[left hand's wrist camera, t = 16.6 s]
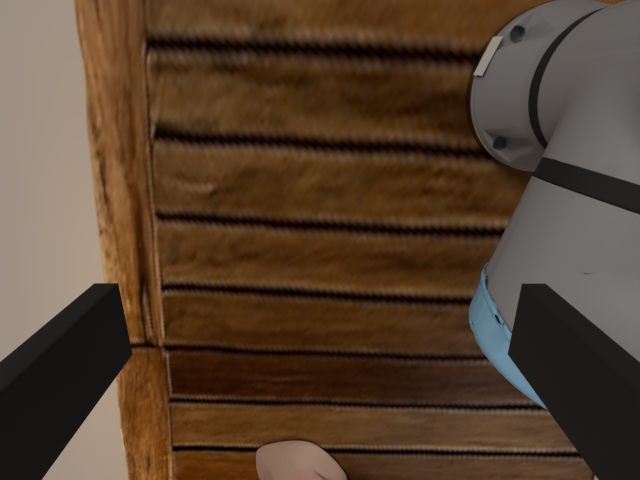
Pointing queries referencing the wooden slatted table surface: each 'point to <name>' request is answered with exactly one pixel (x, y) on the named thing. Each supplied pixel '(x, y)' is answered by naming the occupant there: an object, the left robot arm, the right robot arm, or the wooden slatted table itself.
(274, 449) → the anatomical model
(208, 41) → the wooden slatted table surface
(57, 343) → the left robot arm
